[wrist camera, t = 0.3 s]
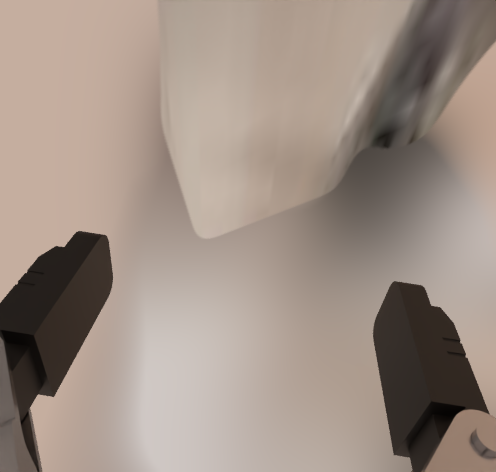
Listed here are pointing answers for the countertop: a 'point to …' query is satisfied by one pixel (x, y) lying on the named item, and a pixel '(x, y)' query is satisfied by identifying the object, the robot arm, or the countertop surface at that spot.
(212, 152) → the countertop surface
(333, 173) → the countertop surface
